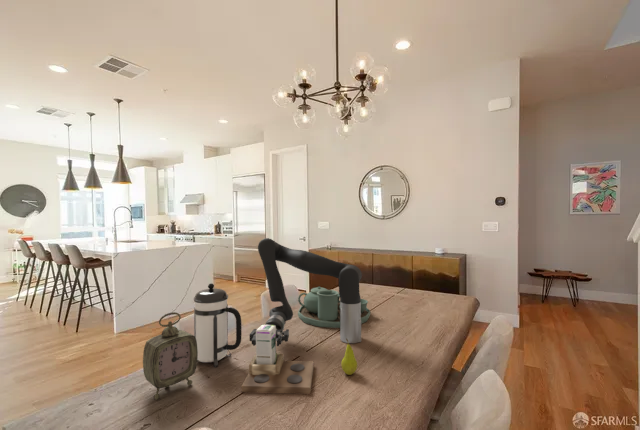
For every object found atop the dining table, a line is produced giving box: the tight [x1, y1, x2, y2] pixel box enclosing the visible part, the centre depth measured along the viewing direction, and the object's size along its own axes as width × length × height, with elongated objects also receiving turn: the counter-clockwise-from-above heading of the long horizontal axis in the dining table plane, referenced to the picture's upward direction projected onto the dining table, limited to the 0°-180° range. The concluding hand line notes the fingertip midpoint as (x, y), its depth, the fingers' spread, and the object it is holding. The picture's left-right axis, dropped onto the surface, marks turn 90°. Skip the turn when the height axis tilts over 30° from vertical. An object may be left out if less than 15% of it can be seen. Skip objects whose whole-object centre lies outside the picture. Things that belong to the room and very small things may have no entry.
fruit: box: [340, 339, 358, 376], centre depth 114 cm, size 6×6×12 cm
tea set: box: [297, 286, 371, 329], centre depth 179 cm, size 40×40×16 cm
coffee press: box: [192, 282, 242, 368], centre depth 125 cm, size 17×16×30 cm
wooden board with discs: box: [241, 352, 315, 395], centre depth 111 cm, size 22×18×5 cm
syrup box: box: [255, 324, 277, 365], centre depth 115 cm, size 6×6×14 cm
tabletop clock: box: [142, 311, 198, 400], centre depth 104 cm, size 14×9×25 cm, turn 139°
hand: (265, 343), depth 113 cm, fingers open, 8 cm apart
